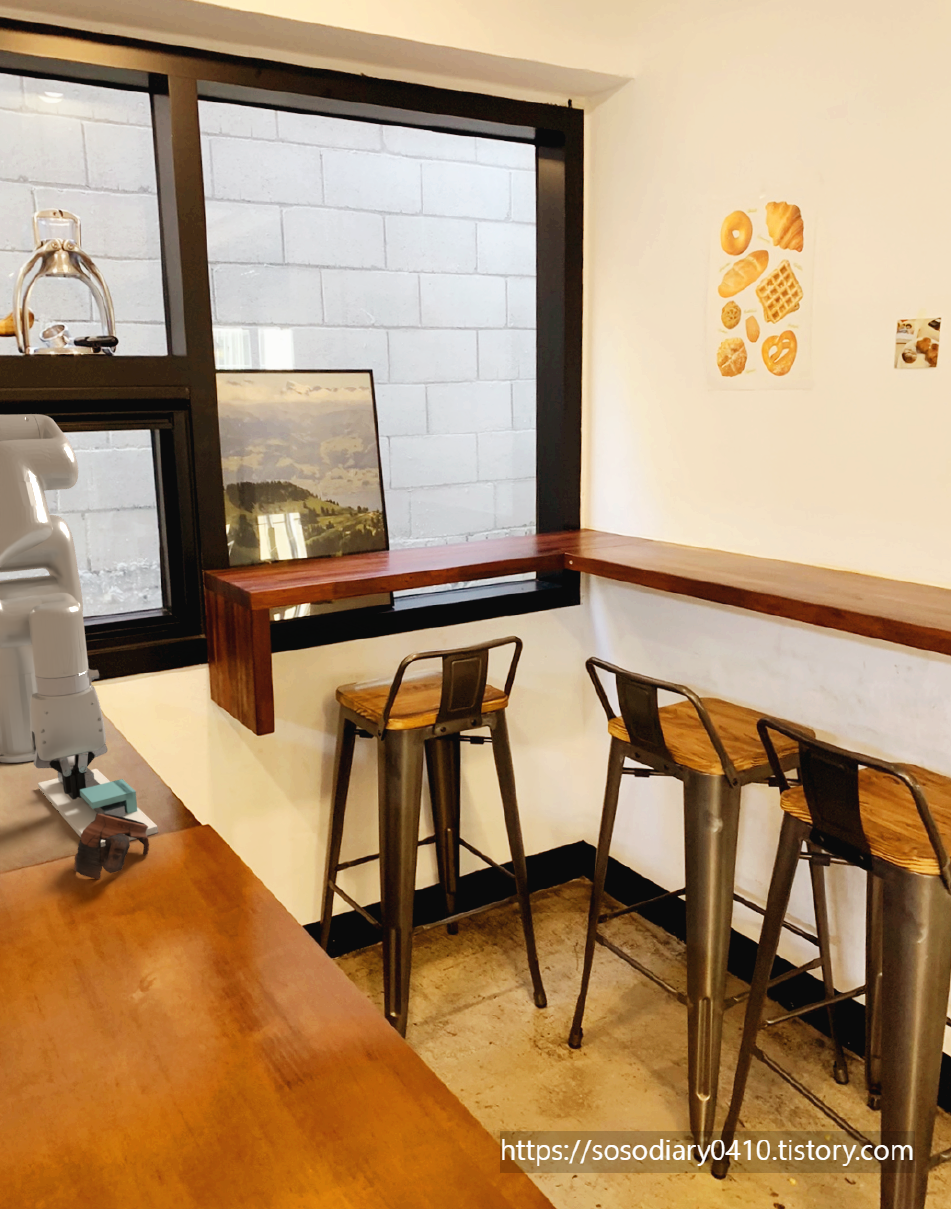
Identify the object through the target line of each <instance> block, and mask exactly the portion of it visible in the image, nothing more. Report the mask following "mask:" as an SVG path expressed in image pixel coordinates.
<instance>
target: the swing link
mask: <svg viewBox="0 0 951 1209" xmlns="http://www.w3.org/2000/svg"><path fill="white" fill-rule="evenodd" d="M91 770H92V769H90V768H88V767H87V770H86V771H85V772H84V773H85V783H86V788H88V787H92V786H96V785H100V784H99V783H98V782H97V781H96V780H95V779H94V773H93V772H92V771H91ZM57 778H58V781H59V782H60V783H62V784H63V780H62V774H61V773H60V772H58V771H57ZM82 799H83V798H82ZM83 800H84V799H83ZM84 801H85V800H84ZM85 802H86V801H85ZM86 803H87V802H86ZM87 804H88V803H87ZM88 805H89V804H88ZM89 806H90V805H89ZM94 810H95V811H96V812H97V813H106V814H111V815H116V816H120V817H121V816H125V806H124V805H123V804H121V803H120V802H117V803H113V804H109V805H105V806H102V807H98V808H94Z"/></svg>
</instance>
